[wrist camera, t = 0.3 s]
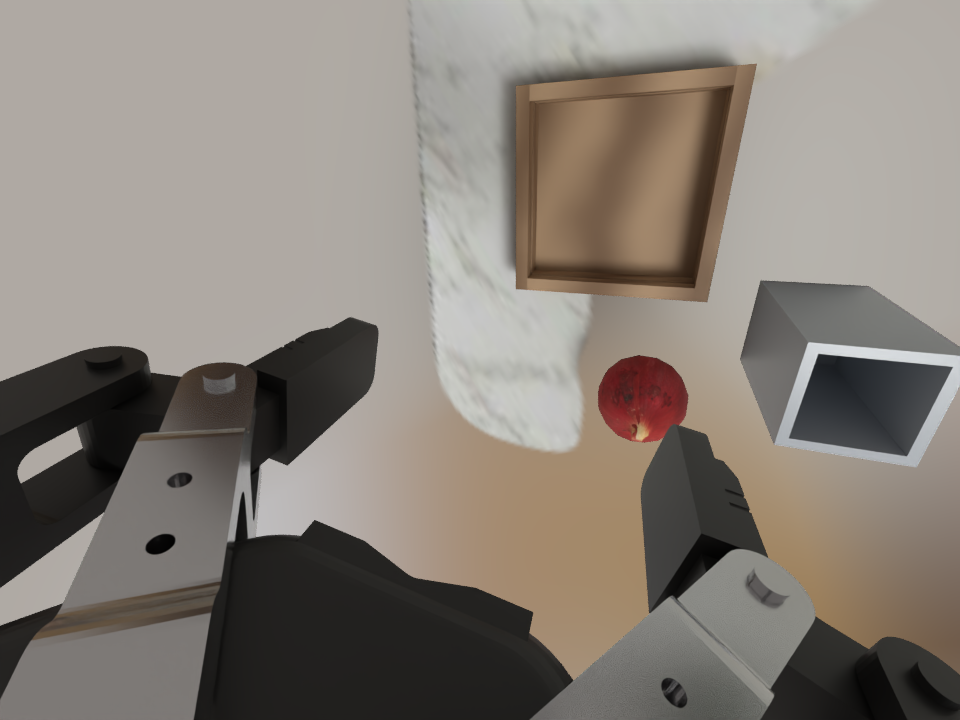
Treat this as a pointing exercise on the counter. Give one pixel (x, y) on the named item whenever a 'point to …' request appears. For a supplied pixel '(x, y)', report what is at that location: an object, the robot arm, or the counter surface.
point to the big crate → (627, 181)
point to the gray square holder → (847, 371)
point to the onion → (642, 398)
